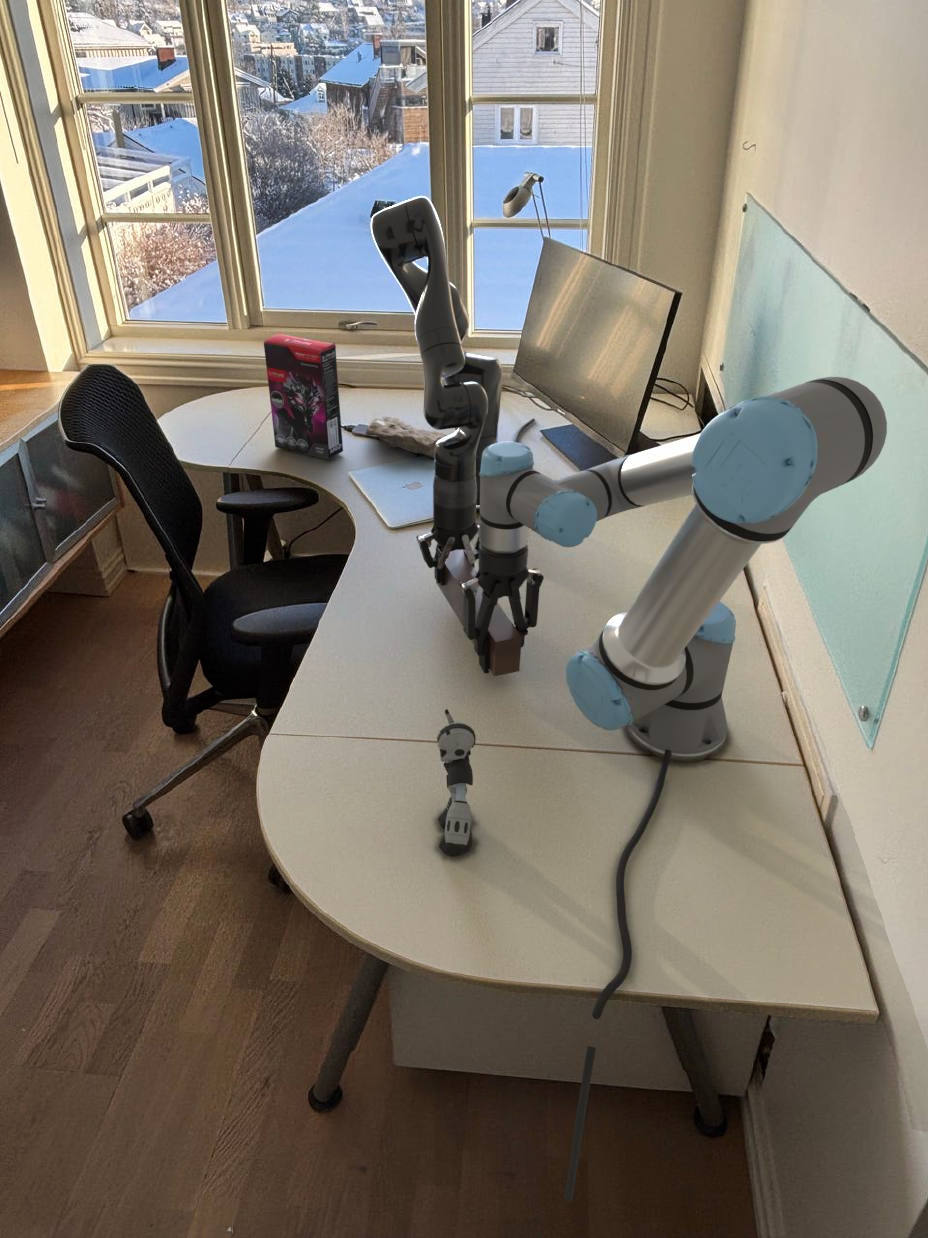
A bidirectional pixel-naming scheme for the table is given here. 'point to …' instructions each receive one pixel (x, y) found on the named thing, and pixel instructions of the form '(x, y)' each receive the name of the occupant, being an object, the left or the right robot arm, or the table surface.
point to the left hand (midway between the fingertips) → (454, 580)
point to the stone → (404, 435)
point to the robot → (456, 785)
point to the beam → (500, 628)
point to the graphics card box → (304, 395)
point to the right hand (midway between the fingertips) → (498, 665)
